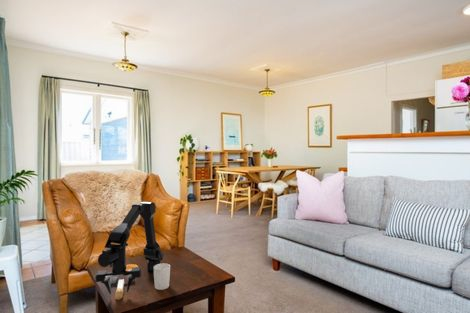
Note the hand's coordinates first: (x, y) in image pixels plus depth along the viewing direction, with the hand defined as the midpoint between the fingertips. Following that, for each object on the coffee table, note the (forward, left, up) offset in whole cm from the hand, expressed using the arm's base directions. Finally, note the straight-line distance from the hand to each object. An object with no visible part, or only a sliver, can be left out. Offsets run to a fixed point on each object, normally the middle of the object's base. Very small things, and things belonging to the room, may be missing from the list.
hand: (119, 292), depth 135 cm
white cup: (-19, -6, -2) cm, 20 cm away
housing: (0, -19, -2) cm, 19 cm away
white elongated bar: (0, -6, -2) cm, 7 cm away
